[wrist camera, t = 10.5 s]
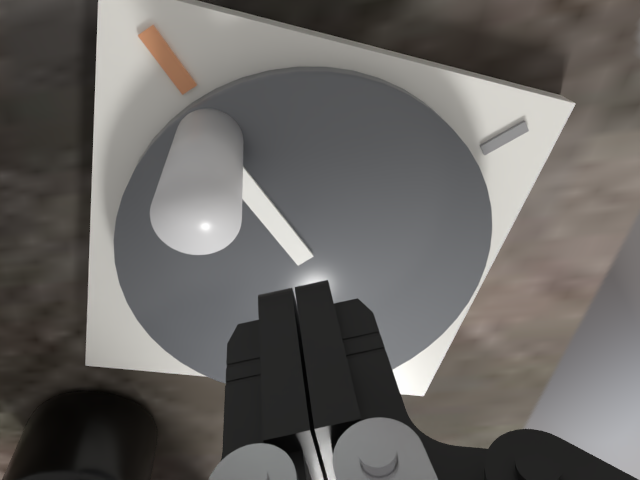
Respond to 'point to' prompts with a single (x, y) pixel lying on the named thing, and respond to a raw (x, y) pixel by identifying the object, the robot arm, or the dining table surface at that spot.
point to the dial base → (255, 57)
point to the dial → (301, 212)
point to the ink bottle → (86, 440)
